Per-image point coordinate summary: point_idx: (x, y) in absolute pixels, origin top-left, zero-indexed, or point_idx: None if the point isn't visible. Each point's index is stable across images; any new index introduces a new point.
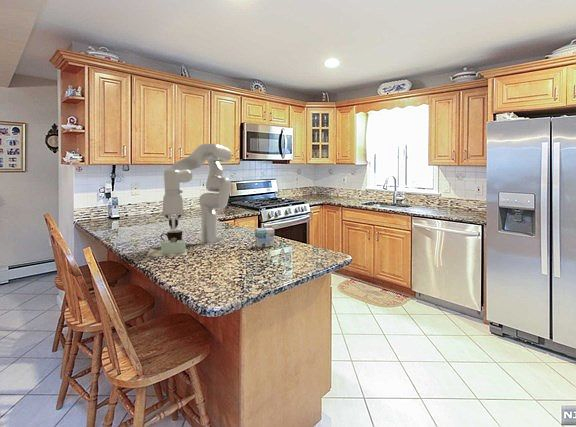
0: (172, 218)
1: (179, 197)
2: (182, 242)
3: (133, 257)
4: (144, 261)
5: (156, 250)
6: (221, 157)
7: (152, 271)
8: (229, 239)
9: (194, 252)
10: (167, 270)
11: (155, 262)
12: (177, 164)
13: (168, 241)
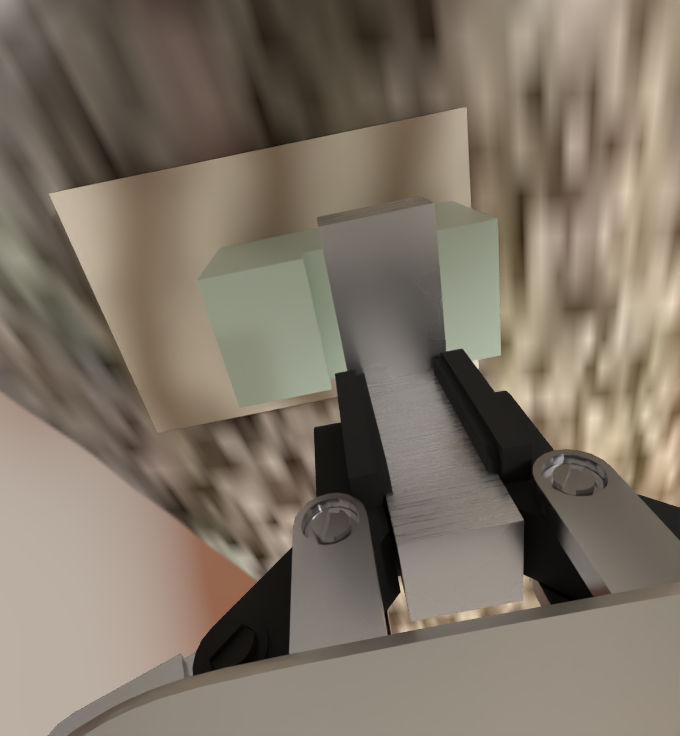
0: (442, 607)
1: None
2: (474, 359)
3: (18, 373)
4: (184, 470)
5: (129, 205)
6: None
7: None
8: None
9: (528, 152)
10: (400, 602)
11: (274, 485)
12: None
13: (298, 329)
